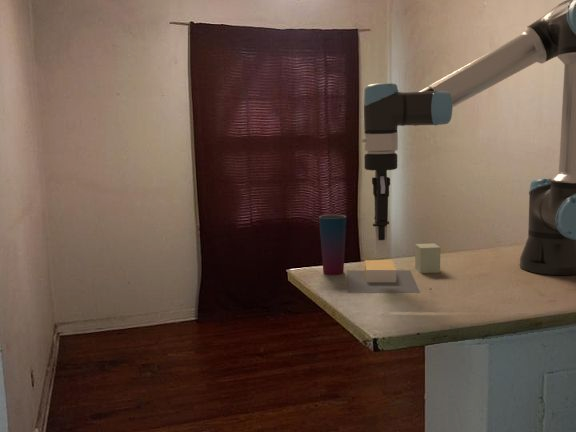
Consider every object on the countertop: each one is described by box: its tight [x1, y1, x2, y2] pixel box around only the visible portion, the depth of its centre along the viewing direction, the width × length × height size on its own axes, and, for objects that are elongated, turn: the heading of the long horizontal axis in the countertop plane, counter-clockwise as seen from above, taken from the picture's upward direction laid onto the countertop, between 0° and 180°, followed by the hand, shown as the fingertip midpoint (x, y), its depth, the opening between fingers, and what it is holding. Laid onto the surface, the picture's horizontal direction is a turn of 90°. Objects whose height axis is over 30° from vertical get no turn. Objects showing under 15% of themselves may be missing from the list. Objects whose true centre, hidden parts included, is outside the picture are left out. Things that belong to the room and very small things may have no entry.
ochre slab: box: [364, 259, 397, 282], centre depth 144 cm, size 7×3×10 cm
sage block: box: [414, 242, 441, 274], centre depth 149 cm, size 5×5×7 cm
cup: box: [318, 214, 347, 276], centre depth 149 cm, size 7×7×15 cm
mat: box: [346, 269, 421, 294], centre depth 141 cm, size 16×20×1 cm
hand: (381, 252), depth 139 cm, fingers closed
